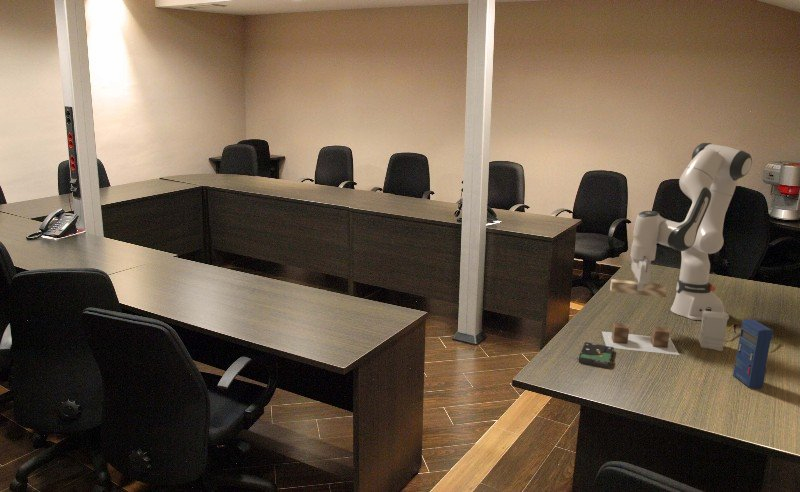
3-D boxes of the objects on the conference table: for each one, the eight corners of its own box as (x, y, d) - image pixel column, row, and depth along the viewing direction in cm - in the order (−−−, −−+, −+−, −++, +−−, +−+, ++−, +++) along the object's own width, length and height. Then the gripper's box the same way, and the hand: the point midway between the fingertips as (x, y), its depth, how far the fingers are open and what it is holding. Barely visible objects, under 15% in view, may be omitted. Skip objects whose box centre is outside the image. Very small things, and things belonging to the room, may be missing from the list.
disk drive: (583, 348, 230) (578, 363, 217) (584, 341, 230) (578, 356, 216) (613, 354, 226) (609, 369, 213) (614, 346, 226) (610, 362, 212)
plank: (663, 294, 244) (665, 284, 243) (665, 297, 240) (667, 287, 239) (609, 288, 248) (611, 278, 247) (611, 291, 244) (612, 281, 243)
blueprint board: (669, 339, 240) (670, 338, 240) (679, 356, 225) (679, 354, 224) (601, 332, 244) (601, 331, 244) (606, 348, 229) (606, 347, 229)
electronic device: (731, 375, 210) (741, 319, 206) (745, 375, 211) (756, 319, 206) (748, 388, 201) (759, 330, 196) (764, 388, 202) (775, 330, 197)
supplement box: (719, 344, 237) (724, 312, 234) (722, 352, 230) (727, 319, 227) (698, 341, 239) (703, 309, 236) (700, 348, 232) (705, 316, 229)
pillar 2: (664, 342, 235) (666, 327, 233) (667, 348, 230) (669, 332, 229) (650, 341, 236) (652, 326, 234) (653, 346, 231) (655, 331, 230)
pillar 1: (625, 338, 238) (627, 323, 236) (627, 343, 233) (629, 328, 231) (611, 337, 238) (613, 322, 237) (613, 342, 234) (615, 327, 232)
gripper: (656, 261, 229) (651, 297, 233) (647, 248, 249) (642, 281, 252) (638, 259, 231) (633, 295, 234) (630, 246, 250) (626, 280, 253)
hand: (638, 288), depth 243 cm, fingers closed on plank, 4 cm apart
